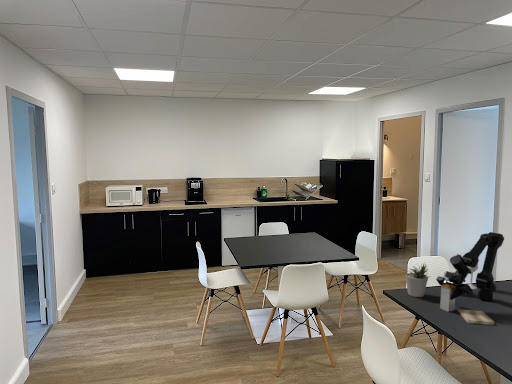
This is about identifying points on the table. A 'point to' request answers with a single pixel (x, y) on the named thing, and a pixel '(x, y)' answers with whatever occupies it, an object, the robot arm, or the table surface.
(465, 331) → the table surface
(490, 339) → the table surface
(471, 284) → the champagne flute
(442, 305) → the aluminium block
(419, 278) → the potted plant
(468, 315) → the birch board
